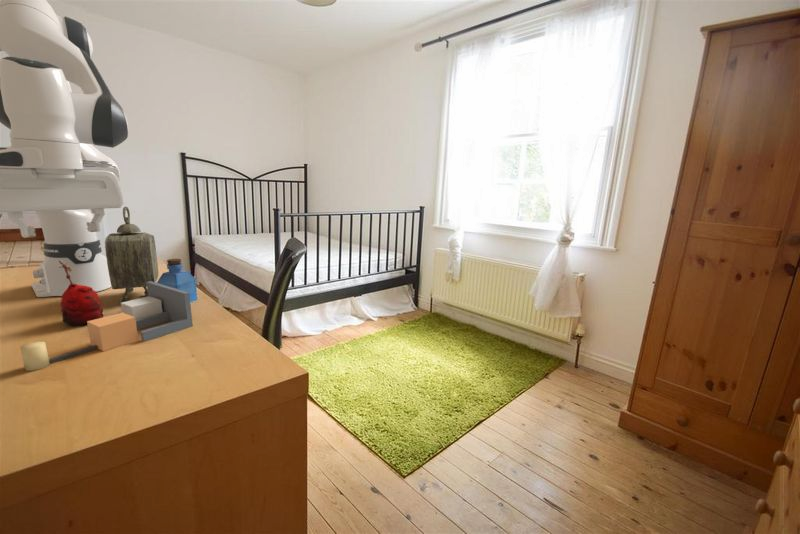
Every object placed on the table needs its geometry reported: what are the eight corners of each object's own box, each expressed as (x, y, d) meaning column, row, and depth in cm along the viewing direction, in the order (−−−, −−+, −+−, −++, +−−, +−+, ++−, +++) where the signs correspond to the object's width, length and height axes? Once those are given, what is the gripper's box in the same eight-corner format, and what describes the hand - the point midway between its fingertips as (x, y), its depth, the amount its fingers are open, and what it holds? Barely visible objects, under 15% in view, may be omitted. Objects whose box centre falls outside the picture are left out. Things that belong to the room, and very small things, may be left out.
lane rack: (106, 324, 79) (101, 290, 78) (154, 311, 88) (150, 281, 86) (144, 341, 72) (139, 304, 70) (192, 325, 80) (189, 292, 79)
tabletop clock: (124, 291, 103) (111, 204, 97) (161, 287, 107) (150, 205, 101) (113, 306, 90) (98, 208, 85) (156, 302, 95) (144, 208, 89)
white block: (123, 323, 81) (120, 302, 80) (152, 315, 86) (149, 296, 85) (134, 328, 78) (131, 307, 77) (163, 320, 83) (161, 300, 82)
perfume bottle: (179, 308, 91) (174, 263, 89) (159, 305, 92) (153, 261, 90) (197, 300, 97) (193, 258, 94) (178, 298, 98) (173, 256, 96)
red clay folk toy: (112, 318, 83) (102, 256, 79) (78, 330, 76) (66, 262, 73) (88, 314, 85) (78, 253, 81) (53, 325, 78) (40, 259, 75)
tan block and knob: (20, 366, 61) (14, 339, 60) (125, 334, 75) (122, 312, 74) (31, 374, 59) (25, 346, 58) (138, 340, 72) (135, 317, 71)
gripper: (110, 161, 74) (119, 226, 77) (-43, 153, 56) (-22, 237, 60) (125, 162, 71) (134, 230, 74) (-32, 154, 53) (-10, 243, 57)
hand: (63, 234), depth 67 cm, fingers open, 8 cm apart
